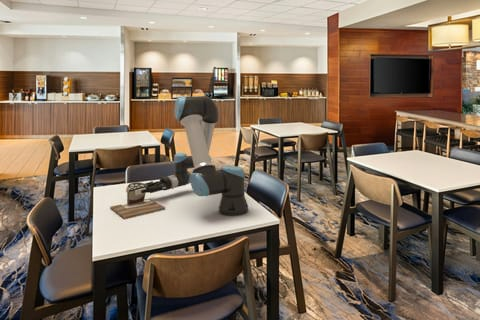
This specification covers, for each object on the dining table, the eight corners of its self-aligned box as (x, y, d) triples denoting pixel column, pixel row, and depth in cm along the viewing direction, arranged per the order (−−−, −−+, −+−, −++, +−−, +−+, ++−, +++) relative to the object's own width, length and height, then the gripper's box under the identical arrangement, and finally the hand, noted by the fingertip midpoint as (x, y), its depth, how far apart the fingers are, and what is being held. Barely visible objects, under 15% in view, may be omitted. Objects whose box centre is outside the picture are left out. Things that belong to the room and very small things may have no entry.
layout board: (165, 209, 189) (165, 206, 189) (124, 219, 176) (123, 216, 175) (149, 200, 204) (149, 197, 204) (110, 208, 191) (110, 206, 191)
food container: (140, 195, 203) (142, 179, 199) (146, 200, 200) (148, 185, 196) (120, 200, 194) (121, 184, 190) (126, 206, 191) (128, 190, 187)
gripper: (178, 191, 204) (142, 202, 187) (159, 186, 215) (124, 195, 198) (177, 179, 202) (141, 188, 185) (159, 174, 214) (123, 182, 197)
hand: (132, 192), depth 192 cm, fingers open, 4 cm apart
